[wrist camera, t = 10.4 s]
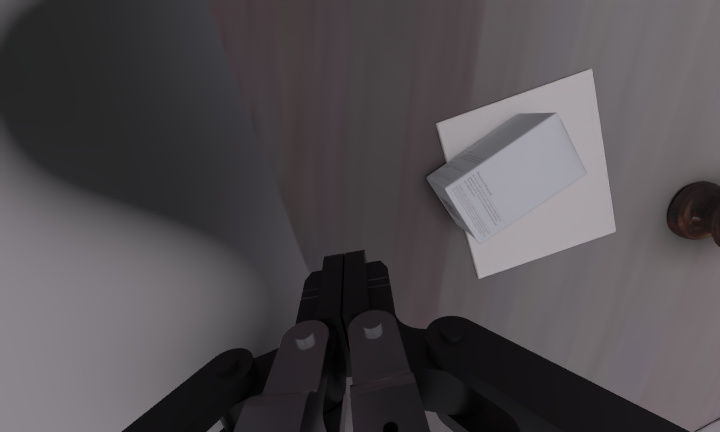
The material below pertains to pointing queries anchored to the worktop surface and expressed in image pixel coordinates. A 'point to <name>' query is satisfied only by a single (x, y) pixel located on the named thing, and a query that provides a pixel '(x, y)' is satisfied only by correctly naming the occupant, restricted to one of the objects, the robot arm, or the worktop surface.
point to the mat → (565, 209)
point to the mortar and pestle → (696, 212)
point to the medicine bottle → (711, 427)
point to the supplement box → (508, 173)
